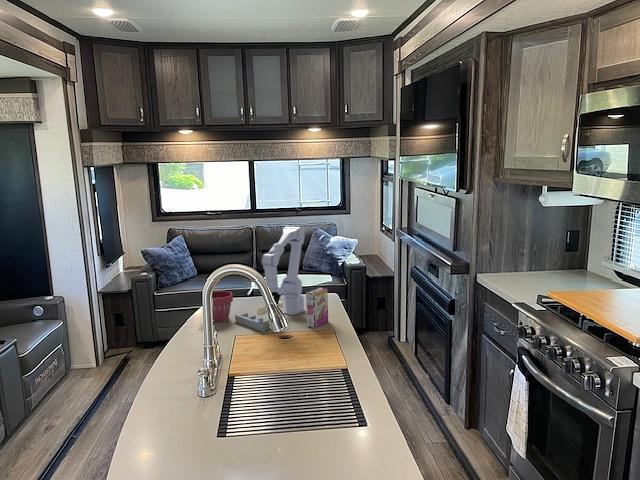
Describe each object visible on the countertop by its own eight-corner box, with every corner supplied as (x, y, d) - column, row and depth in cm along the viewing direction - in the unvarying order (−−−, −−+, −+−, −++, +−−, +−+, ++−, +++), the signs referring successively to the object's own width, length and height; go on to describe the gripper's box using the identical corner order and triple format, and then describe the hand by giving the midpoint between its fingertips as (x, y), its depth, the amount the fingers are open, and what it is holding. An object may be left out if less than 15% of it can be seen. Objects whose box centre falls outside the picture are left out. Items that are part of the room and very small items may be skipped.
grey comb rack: (245, 318, 236) (244, 310, 235) (273, 328, 220) (272, 320, 220) (235, 321, 232) (234, 313, 231) (262, 332, 216) (262, 323, 215)
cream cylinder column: (278, 306, 231) (278, 299, 230) (283, 308, 228) (283, 301, 227) (256, 314, 222) (256, 307, 221) (261, 316, 219) (261, 309, 218)
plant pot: (238, 315, 242) (236, 290, 240) (227, 324, 229) (225, 298, 227) (212, 314, 246) (210, 290, 243) (200, 323, 232) (197, 298, 230)
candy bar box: (315, 328, 218) (313, 294, 215) (306, 326, 221) (305, 292, 218) (329, 321, 227) (327, 288, 224) (320, 319, 230) (319, 287, 227)
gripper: (255, 278, 226) (257, 305, 228) (274, 282, 215) (276, 311, 218) (266, 275, 230) (268, 302, 233) (286, 279, 220) (287, 307, 222)
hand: (272, 306), depth 225 cm, fingers closed on cream cylinder column, 4 cm apart
